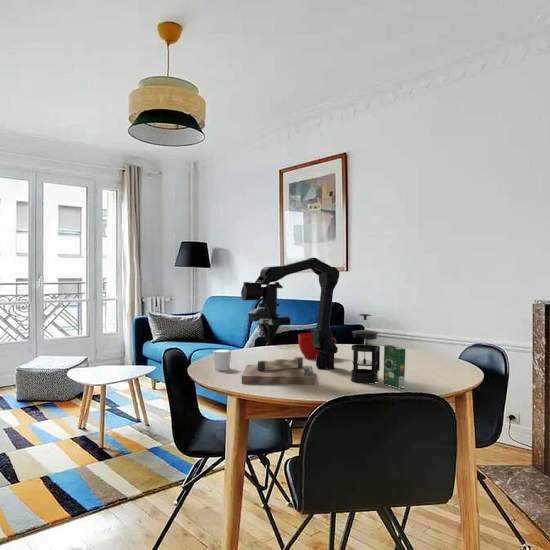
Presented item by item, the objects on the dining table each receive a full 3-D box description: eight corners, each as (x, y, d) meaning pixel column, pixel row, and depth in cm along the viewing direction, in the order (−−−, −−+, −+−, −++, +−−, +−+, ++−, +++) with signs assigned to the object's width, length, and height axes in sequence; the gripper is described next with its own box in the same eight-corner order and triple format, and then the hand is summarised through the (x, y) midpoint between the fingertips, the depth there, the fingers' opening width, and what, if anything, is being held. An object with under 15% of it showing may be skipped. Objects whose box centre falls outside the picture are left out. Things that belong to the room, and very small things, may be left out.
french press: (362, 385, 154) (363, 315, 155) (343, 380, 162) (344, 313, 162) (387, 381, 161) (388, 314, 161) (368, 376, 169) (368, 312, 169)
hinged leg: (299, 365, 173) (299, 356, 174) (304, 367, 171) (304, 358, 171) (255, 369, 165) (256, 360, 165) (260, 371, 162) (260, 361, 162)
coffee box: (405, 389, 150) (406, 348, 150) (398, 389, 149) (398, 348, 149) (390, 383, 158) (390, 344, 158) (382, 384, 156) (383, 345, 156)
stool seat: (311, 372, 174) (311, 360, 174) (314, 385, 154) (314, 371, 154) (247, 371, 175) (247, 359, 175) (241, 383, 155) (241, 369, 155)
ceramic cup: (337, 360, 201) (338, 337, 201) (298, 359, 202) (298, 336, 202) (334, 355, 214) (334, 333, 214) (297, 354, 215) (297, 332, 215)
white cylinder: (216, 371, 175) (216, 352, 175) (210, 368, 181) (210, 349, 181) (233, 369, 178) (233, 351, 178) (227, 366, 184) (227, 348, 184)
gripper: (237, 299, 177) (236, 341, 177) (267, 302, 162) (266, 347, 162) (261, 299, 184) (260, 339, 184) (291, 301, 169) (291, 344, 169)
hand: (268, 342), depth 174 cm, fingers closed
